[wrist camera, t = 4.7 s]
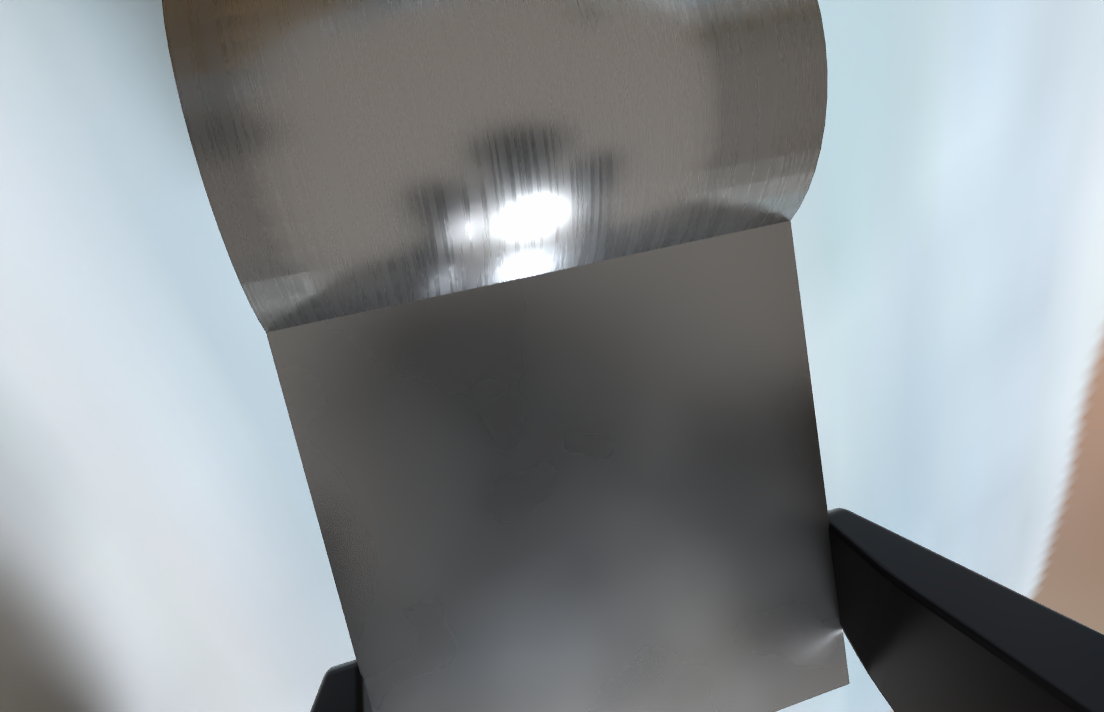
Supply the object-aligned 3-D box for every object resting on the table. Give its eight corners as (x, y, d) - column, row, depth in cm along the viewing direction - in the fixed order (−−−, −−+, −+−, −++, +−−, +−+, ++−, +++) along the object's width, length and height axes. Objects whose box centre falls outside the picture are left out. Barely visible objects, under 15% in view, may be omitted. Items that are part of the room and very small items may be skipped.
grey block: (738, 583, 12) (903, 732, 8) (400, 694, 11) (413, 929, 7) (645, -18, 10) (800, -179, 7) (227, 35, 9) (115, -123, 5)
